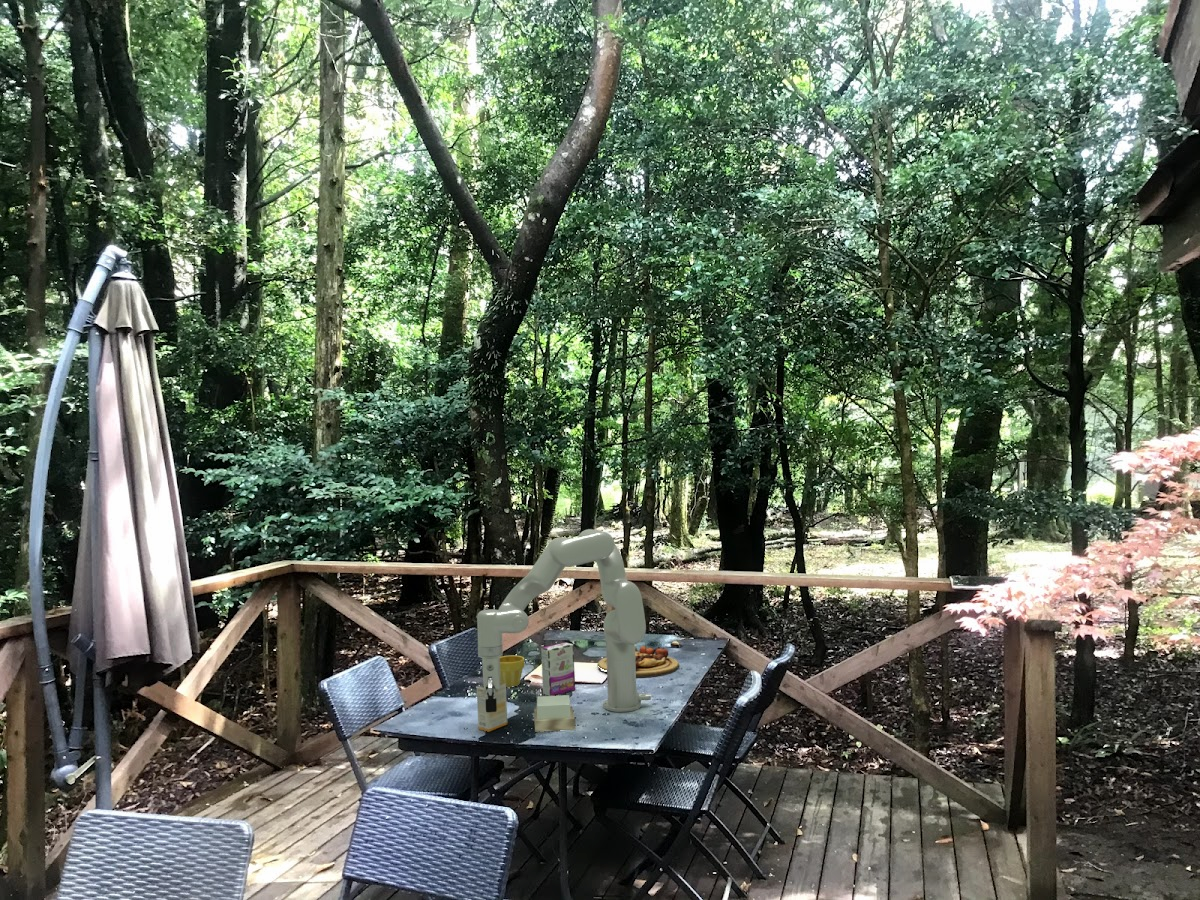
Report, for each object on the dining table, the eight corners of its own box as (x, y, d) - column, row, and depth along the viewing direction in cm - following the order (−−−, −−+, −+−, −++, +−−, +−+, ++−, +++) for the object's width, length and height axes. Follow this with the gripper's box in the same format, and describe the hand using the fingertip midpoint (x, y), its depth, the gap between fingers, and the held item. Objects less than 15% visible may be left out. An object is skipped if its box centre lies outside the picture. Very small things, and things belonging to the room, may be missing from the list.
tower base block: (572, 719, 246) (571, 706, 246) (575, 731, 234) (574, 718, 234) (534, 721, 244) (534, 708, 244) (535, 734, 232) (534, 721, 232)
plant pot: (528, 687, 280) (527, 660, 281) (500, 691, 277) (499, 663, 277) (520, 680, 290) (519, 653, 290) (493, 683, 286) (492, 657, 286)
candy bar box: (567, 687, 279) (566, 641, 279) (575, 690, 275) (574, 644, 275) (541, 694, 271) (540, 647, 272) (550, 697, 268) (548, 649, 268)
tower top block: (569, 707, 244) (569, 695, 244) (570, 718, 234) (570, 704, 234) (537, 709, 244) (537, 696, 244) (537, 719, 234) (536, 706, 234)
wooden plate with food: (656, 683, 283) (656, 660, 283) (582, 672, 299) (582, 650, 299) (692, 664, 310) (691, 643, 310) (622, 655, 326) (621, 635, 326)
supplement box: (497, 722, 243) (495, 680, 243) (508, 724, 240) (506, 682, 240) (477, 729, 236) (475, 686, 237) (488, 732, 233) (486, 688, 234)
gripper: (501, 657, 230) (503, 715, 230) (503, 643, 248) (504, 697, 247) (476, 658, 230) (478, 716, 229) (479, 644, 247) (481, 699, 246)
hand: (491, 706), depth 238 cm, fingers closed on supplement box, 9 cm apart
